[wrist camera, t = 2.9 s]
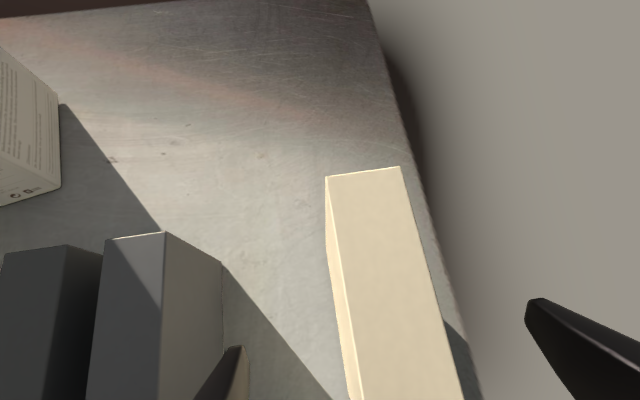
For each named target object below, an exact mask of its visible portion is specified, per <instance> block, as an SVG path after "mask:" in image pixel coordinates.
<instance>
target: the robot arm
mask: <svg viewBox="0 0 640 400" xmlns="http://www.w3.org/2000/svg"><path fill="white" fill-rule="evenodd" d="M524 321H525V324H526V327H527V328H528V330H529V332H530V333H531V335H532V336H533V338H534V340H535V341H536V343H537V345H538V346H539V348H540V349H541V351H542V353H543V354H544V356H545V357H546V359H547V360H548V362H549V364H550V365H551V367H552V368H553V370H554V371H555V373H556V374H557V376H558V377H559V378H560V380H561V381H562V383H563V384H564V385H565V386H566V388H567V389H568V391H569V392H570V393H571V395H572V396H573V397H574V399H575V400H640V342H638V341H636V340H634V339H632V338H630V337H628V336H625V335H623V334H621V333H619V332H617V331H614V330H612V329H610V328H608V327H606V326H604V325H601V324H599V323H597V322H595V321H593V320H590V319H588V318H586V317H584V316H582V315H580V314H577V313H575V312H573V311H571V310H568V309H567V308H564V307H562V306H560V305H558V304H556V303H553V302H551V301H549V300H547V299H544V298H537V299H531V300H529V301H528V303H527V308H526V312H525V318H524ZM249 380H250V365H249V361H248V357H247V354H246V351H245V348H244V346H243V345H238V346H232V347H230V348H229V349H228V350H227V351H226V353H225V354H224V355H223V357H222V358H221V360H220V361H219V363H218V364H217V365H216V367H215V368H214V370H213V371H212V373H211V374H210V375H209V377H208V378H207V380H206V381H205V382H204V384H203V385H202V387H201V388H200V390H199V391H198V392H197V394H196V395H195V397H194V398H193V400H249Z"/></svg>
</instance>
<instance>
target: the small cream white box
mask: <svg viewBox="0 0 640 400" xmlns="http://www.w3.org/2000/svg"><path fill="white" fill-rule="evenodd" d="M325 202H326V251H327V257H328V264H329V270H330V277H331V283H332V290H333V296H334V303H335V309H336V316H337V322H338V329H339V335H340V342H341V348H342V355H343V361H344V368H345V374H346V381H347V387H348V393H349V396H350V400H465V398H464V394H463V391H462V387H461V383H460V380H459V376H458V373H457V369H456V365H455V362H454V358H453V354H452V351H451V347H450V344H449V340H448V336H447V333H446V329H445V325H444V322H443V318H442V315H441V311H440V307H439V304H438V300H437V296H436V293H435V289H434V286H433V282H432V278H431V275H430V271H429V267H428V264H427V260H426V257H425V253H424V249H423V246H422V242H421V238H420V235H419V231H418V228H417V224H416V220H415V217H414V213H413V209H412V206H411V202H410V199H409V195H408V191H407V188H406V184H405V180H404V177H403V173H402V170H401V167H400V166H398V167H390V168H383V169H376V170H369V171H362V172H354V173H347V174H340V175H333V176H327V177H326V178H325Z"/></svg>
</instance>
